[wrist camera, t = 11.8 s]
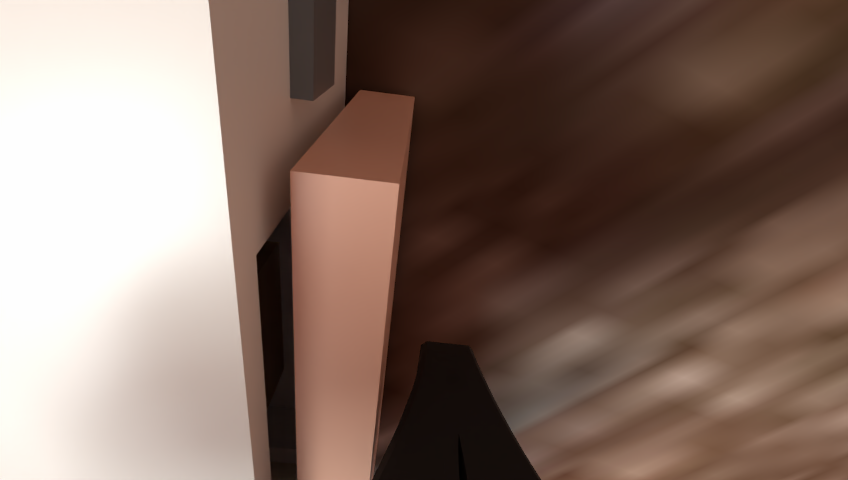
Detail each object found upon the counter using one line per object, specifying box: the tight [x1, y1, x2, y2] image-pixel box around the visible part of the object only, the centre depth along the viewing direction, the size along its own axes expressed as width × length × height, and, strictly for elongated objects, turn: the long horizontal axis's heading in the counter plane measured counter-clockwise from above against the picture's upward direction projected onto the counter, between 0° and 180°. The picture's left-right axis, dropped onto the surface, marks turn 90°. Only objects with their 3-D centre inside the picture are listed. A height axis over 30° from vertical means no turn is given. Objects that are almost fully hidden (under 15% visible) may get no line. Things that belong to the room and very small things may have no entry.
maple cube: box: [256, 241, 284, 409], centre depth 9 cm, size 4×4×4 cm
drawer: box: [267, 90, 415, 480], centre depth 10 cm, size 9×11×5 cm
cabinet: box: [0, 0, 349, 480], centre depth 9 cm, size 14×18×6 cm
